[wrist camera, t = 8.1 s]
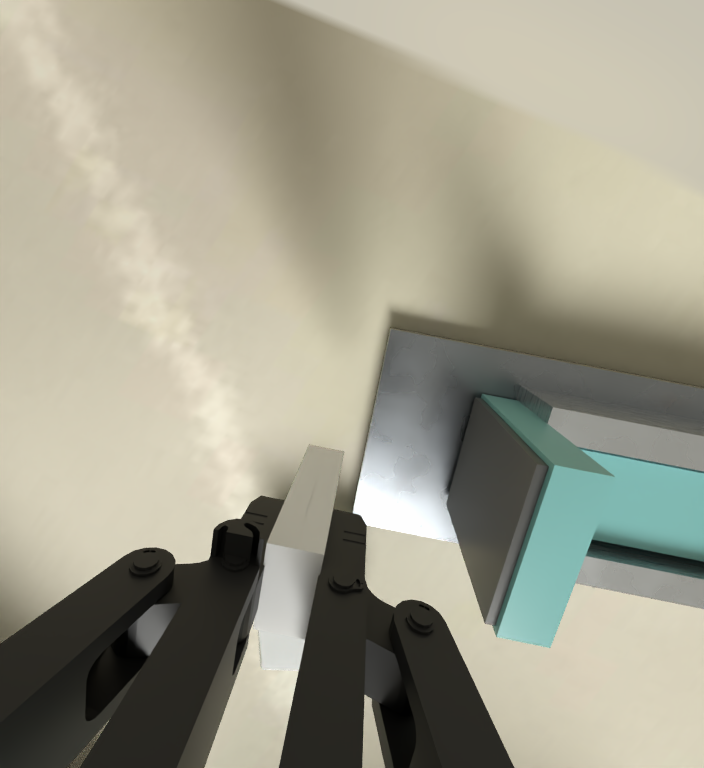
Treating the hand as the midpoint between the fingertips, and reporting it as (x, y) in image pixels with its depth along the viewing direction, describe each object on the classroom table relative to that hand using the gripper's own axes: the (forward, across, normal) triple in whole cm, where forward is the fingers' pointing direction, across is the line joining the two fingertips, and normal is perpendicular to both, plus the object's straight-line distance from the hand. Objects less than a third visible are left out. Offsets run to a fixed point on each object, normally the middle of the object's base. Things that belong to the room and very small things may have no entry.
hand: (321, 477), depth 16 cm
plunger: (+6, +15, 0) cm, 17 cm away
